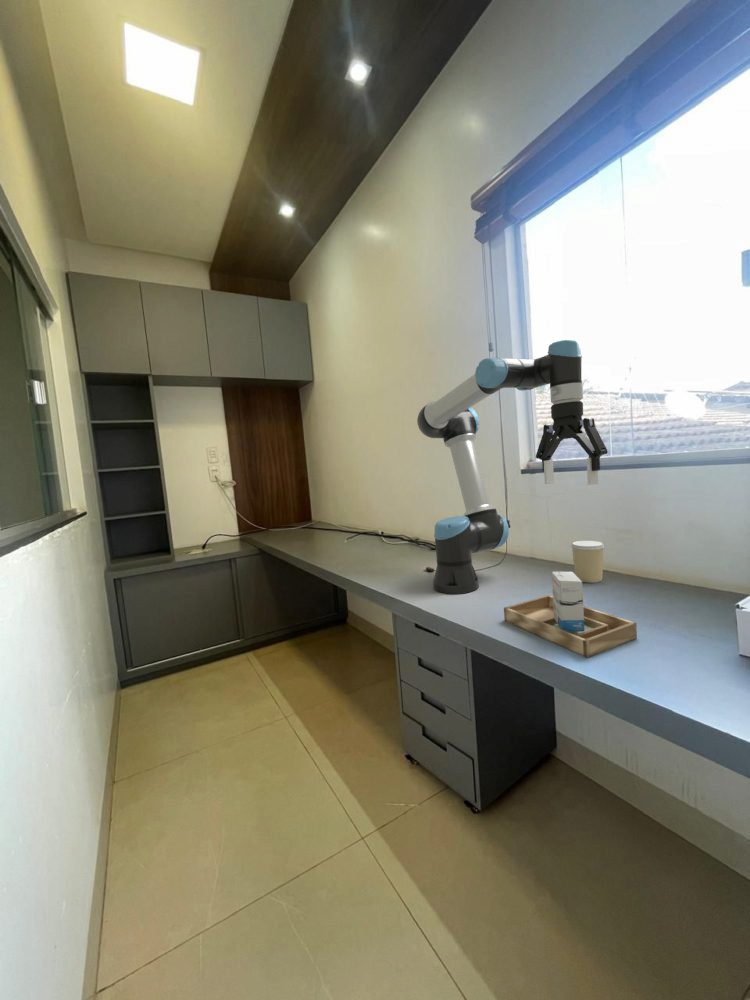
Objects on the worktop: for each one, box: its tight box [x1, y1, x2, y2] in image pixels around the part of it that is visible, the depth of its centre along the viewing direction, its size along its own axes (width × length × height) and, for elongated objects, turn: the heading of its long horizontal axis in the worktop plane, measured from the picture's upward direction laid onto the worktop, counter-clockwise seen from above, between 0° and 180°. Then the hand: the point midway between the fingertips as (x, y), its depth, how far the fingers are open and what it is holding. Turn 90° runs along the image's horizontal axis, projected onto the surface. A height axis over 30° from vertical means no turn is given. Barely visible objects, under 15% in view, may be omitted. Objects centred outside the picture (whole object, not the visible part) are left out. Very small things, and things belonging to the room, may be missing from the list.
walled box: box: [503, 594, 638, 659], centre depth 96 cm, size 24×16×4 cm, turn 24°
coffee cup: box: [571, 540, 605, 583], centre depth 130 cm, size 9×9×12 cm
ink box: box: [551, 571, 584, 631], centre depth 93 cm, size 8×5×12 cm, turn 168°
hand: (569, 484), depth 105 cm, fingers open, 13 cm apart
